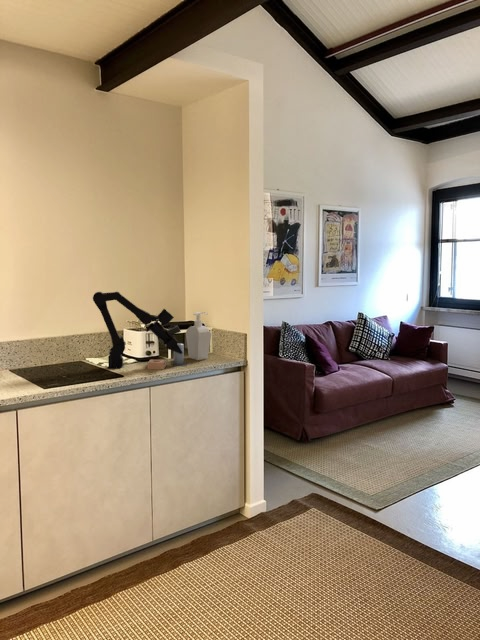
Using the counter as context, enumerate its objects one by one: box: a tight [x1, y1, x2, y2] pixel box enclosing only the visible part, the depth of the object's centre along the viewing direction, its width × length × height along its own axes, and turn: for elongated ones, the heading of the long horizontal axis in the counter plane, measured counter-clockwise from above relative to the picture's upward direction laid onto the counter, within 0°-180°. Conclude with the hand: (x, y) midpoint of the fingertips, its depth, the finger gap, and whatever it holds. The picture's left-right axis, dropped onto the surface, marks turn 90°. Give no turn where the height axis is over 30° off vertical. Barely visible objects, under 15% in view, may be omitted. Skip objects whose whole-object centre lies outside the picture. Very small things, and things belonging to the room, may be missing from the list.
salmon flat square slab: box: [147, 359, 167, 370], centre depth 264 cm, size 8×8×4 cm
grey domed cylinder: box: [173, 342, 185, 365], centre depth 271 cm, size 5×5×10 cm
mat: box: [168, 361, 189, 367], centre depth 272 cm, size 9×9×1 cm
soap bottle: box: [185, 311, 212, 361], centre depth 288 cm, size 12×10×26 cm
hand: (181, 352), depth 271 cm, fingers closed on grey domed cylinder, 5 cm apart
